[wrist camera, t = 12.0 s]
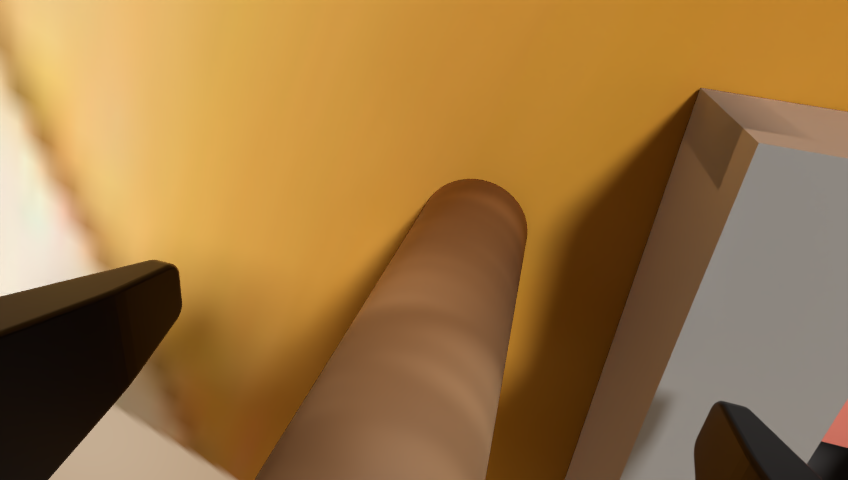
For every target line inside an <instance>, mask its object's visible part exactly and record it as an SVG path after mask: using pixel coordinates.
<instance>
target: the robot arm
mask: <svg viewBox="0 0 848 480" xmlns="http://www.w3.org/2000/svg"><path fill="white" fill-rule="evenodd" d="M181 308H182V298H181V288H180V277H179V271H178V269H177V267H176V266H175V265H173V264H170V263H166V262H162V261H158V260H149V261H145V262H141V263H137V264H132V265H128V266H124V267H120V268H116V269H112V270H108V271H104V272H100V273H95V274H91V275H87V276H83V277H79V278H75V279H71V280H67V281H63V282H58V283H54V284H50V285H46V286H42V287H38V288H34V289H30V290H26V291H21V292H17V293H13V294H9V295H5V296H1V297H0V480H48V479H49V478H50V477H51V476H52V474H54V472H55V471H56V470H57V469H58V468H59V466H60V465H61V464H62V463H63V462H64V461H65V460H66V459H67V457H68V456H69V455H70V454H71V453H72V452H73V450H74V449H75V448H76V447H77V446H78V445H79V444H80V442H81V441H82V440H83V439H84V438H85V437H86V436H87V434H88V433H89V432H90V431H91V430H92V429H93V428H94V426H95V425H96V424H97V423H98V422H99V421H100V419H101V418H102V417H103V416H104V415H105V414H106V412H107V411H108V410H109V409H110V408H111V407H112V406H113V405H114V403H115V402H116V401H117V400H118V399H119V398H120V396H121V395H122V394H123V393H124V392H125V390H126V389H127V388H128V387H129V386H130V384H131V383H132V381H133V380H134V379H135V378H136V376H137V375H138V374H139V372H140V371H141V369H142V368H143V366H144V365H145V364H146V362H147V361H148V359H149V358H150V357H151V355H152V354H153V352H154V351H155V349H156V348H157V347H158V345H159V344H160V342H161V341H162V340H163V338H164V337H165V335H166V334H167V332H168V331H169V330H170V328H171V327H172V325H173V324H174V323H175V321H176V320H177V318H178V316H179V314H180V312H181ZM694 468H695V480H823V479H822V478H821V477H820V476H819V475H818V474H816V473H815V472H814V471H813V470H812V469H811V468H810V467H809V466H808V465H807V464H806V463H805V462H804V461H803V460H802V459H801V458H800V457H799V456H798V455H797V454H796V453H795V452H794V451H793V450H791V449H790V448H789V447H788V446H787V445H786V444H785V443H784V442H783V441H782V440H781V439H780V438H779V437H778V436H777V435H776V434H775V433H774V432H773V431H772V430H771V429H770V428H769V427H768V426H766V425H765V424H764V423H763V422H762V421H761V420H760V419H759V418H758V417H757V416H756V415H755V414H754V413H753V412H752V411H751V410H750V409H748V408H747V407H745V406H741V405H737V404H733V403H729V402H725V401H718V402H716V403H715V404H714V405H713V406H712V407H711V409H710V411H709V413H708V416H707V418H706V420H705V422H704V424H703V426H702V428H701V430H700V432H699V434H698V436H697V438H696V441H695V446H694Z"/></svg>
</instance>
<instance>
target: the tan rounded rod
mask: <svg viewBox="0 0 848 480" xmlns="http://www.w3.org/2000/svg"><path fill="white" fill-rule="evenodd" d="M526 239H527V222H526V219H525V215H524V213H523V211H522V209H521V207H520V205H519V204H518V202H517V201H516V200H515V199H514V197H513V196H511V195H510V194H509V193H508V192H507V191H506V190H504V189H503V188H501V187H499V186H497V185H496V184H493V183H491V182H487V181H484V180H478V179H463V180H458V181H454V182H451V183H449V184H447V185H445V186H443V187H441V188H440V189H439V190H437V191H436V192H435V193H434V194H433V195H432V196H431V198H430V199H429V200H428V202H427V203H426V205H425V207H424V208H423V210H422V211H421V213H420V215H419V216H418V218H417V219H416V221H415V223H414V224H413V226H412V227H411V229H410V231H409V232H408V234H407V236H406V237H405V239H404V240H403V242H402V244H401V245H400V247H399V248H398V250H397V252H396V253H395V255H394V256H393V258H392V260H391V261H390V263H389V264H388V266H387V268H386V269H385V271H384V272H383V274H382V276H381V277H380V279H379V280H378V282H377V284H376V285H375V287H374V289H373V290H372V292H371V293H370V295H369V297H368V298H367V300H366V301H365V303H364V305H363V306H362V308H361V309H360V311H359V313H358V314H357V316H356V317H355V319H354V321H353V322H352V324H351V325H350V327H349V329H348V330H347V332H346V334H345V335H344V337H343V338H342V340H341V342H340V343H339V345H338V346H337V348H336V350H335V351H334V353H333V354H332V356H331V358H330V359H329V361H328V362H327V364H326V366H325V367H324V369H323V370H322V372H321V374H320V375H319V377H318V378H317V380H316V382H315V383H314V385H313V387H312V388H311V390H310V391H309V393H308V395H307V396H306V398H305V399H304V401H303V403H302V404H301V406H300V407H299V409H298V411H297V412H296V414H295V415H294V417H293V419H292V420H291V422H290V423H289V425H288V427H287V428H286V430H285V432H284V433H283V435H282V436H281V438H280V440H279V441H278V443H277V444H276V446H275V448H274V449H273V451H272V452H271V454H270V456H269V457H268V459H267V460H266V462H265V464H264V465H263V467H262V468H261V470H260V472H259V473H258V475H257V476H256V478H255V480H485V478H486V473H487V467H488V461H489V455H490V449H491V443H492V438H493V432H494V426H495V420H496V414H497V408H498V403H499V397H500V391H501V385H502V379H503V374H504V368H505V362H506V356H507V350H508V344H509V339H510V333H511V327H512V321H513V315H514V309H515V304H516V298H517V292H518V286H519V280H520V275H521V269H522V263H523V257H524V251H525V245H526Z"/></svg>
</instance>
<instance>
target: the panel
mask: <svg viewBox="0 0 848 480" xmlns="http://www.w3.org/2000/svg"><path fill="white" fill-rule="evenodd" d="M847 399H848V112H845V111H839V110H833V109H827V108H821V107H814V106H808V105H802V104H796V103H790V102H784V101H778V100H772V99H765V98H759V97H753V96H747V95H741V94H735V93H729V92H722V91H716V90H710V89H704V88H700V91H699V93H698V96H697V99H696V102H695V105H694V108H693V111H692V114H691V117H690V119H689V122H688V125H687V128H686V131H685V134H684V137H683V140H682V142H681V145H680V148H679V151H678V154H677V157H676V160H675V163H674V166H673V168H672V171H671V174H670V177H669V180H668V183H667V186H666V189H665V192H664V194H663V197H662V200H661V203H660V206H659V209H658V212H657V215H656V218H655V220H654V223H653V226H652V229H651V232H650V235H649V238H648V241H647V244H646V246H645V249H644V252H643V255H642V258H641V261H640V264H639V267H638V270H637V272H636V275H635V278H634V281H633V284H632V287H631V290H630V293H629V296H628V298H627V301H626V304H625V307H624V310H623V313H622V316H621V319H620V322H619V324H618V327H617V330H616V333H615V336H614V339H613V342H612V345H611V348H610V350H609V353H608V356H607V359H606V362H605V365H604V368H603V371H602V374H601V376H600V379H599V382H598V385H597V388H596V391H595V394H594V397H593V399H592V402H591V405H590V408H589V411H588V414H587V417H586V420H585V423H584V425H583V428H582V431H581V434H580V437H579V440H578V443H577V446H576V449H575V451H574V454H573V457H572V460H571V463H570V466H569V469H568V472H567V475H566V477H565V480H695V468H694V446H695V441H696V438H697V436H698V434H699V432H700V430H701V428H702V426H703V424H704V422H705V420H706V418H707V416H708V413H709V411H710V409H711V407H712V406H713V405H714V404H715V403H716V402H718V401H725V402H729V403H733V404H737V405H741V406H745V407H747V408H748V409H750V410H751V411H752V412H753V413H754V414H755V415H756V416H757V417H758V418H759V419H760V420H761V421H762V422H763V423H764V424H765V425H766V426H768V427H769V428H770V429H771V430H772V431H773V432H774V433H775V434H776V435H777V436H778V437H779V438H780V439H781V440H782V441H783V442H784V443H785V444H786V445H787V446H788V447H789V448H790V449H791V450H793V451H794V452H795V453H796V454H797V455H798V456H799V457H800V458H801V459H802V460H803V461H804V462H805V463H806V464H807V465H808V466H809V467H810V468H811V469H812V470H813V471H814V472H815V473H816V474H818V475H819V476H820V477H821V478H822V479H823V480H848V448H846V447H842V446H838V445H834V444H830V443H826V442H822V439H823V437H824V436H825V434H826V433H827V431H828V429H829V428H830V426H831V425H832V423H833V421H834V420H835V418H836V417H837V415H838V414H839V412H840V410H841V409H842V407H843V406H844V404H845V402H846V401H847Z"/></svg>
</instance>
